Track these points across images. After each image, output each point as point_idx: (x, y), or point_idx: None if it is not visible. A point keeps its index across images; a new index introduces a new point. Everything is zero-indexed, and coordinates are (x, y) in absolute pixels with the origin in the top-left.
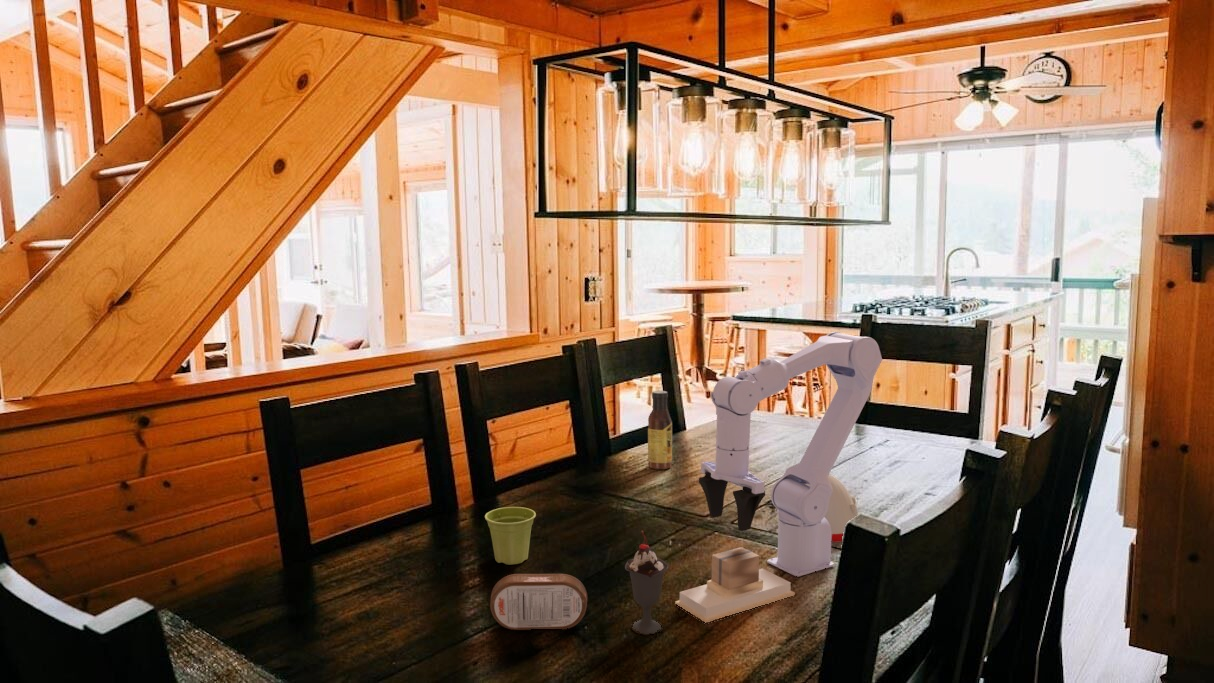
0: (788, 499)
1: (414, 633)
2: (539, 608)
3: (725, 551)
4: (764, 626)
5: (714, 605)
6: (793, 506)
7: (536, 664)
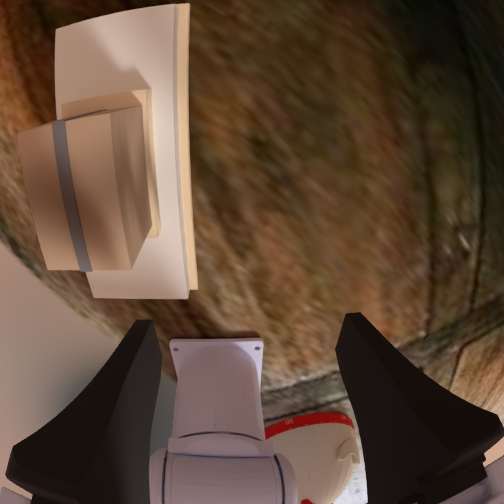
0: (211, 491)
1: None
2: None
3: (115, 188)
4: (11, 146)
5: (56, 55)
6: (185, 478)
7: None
